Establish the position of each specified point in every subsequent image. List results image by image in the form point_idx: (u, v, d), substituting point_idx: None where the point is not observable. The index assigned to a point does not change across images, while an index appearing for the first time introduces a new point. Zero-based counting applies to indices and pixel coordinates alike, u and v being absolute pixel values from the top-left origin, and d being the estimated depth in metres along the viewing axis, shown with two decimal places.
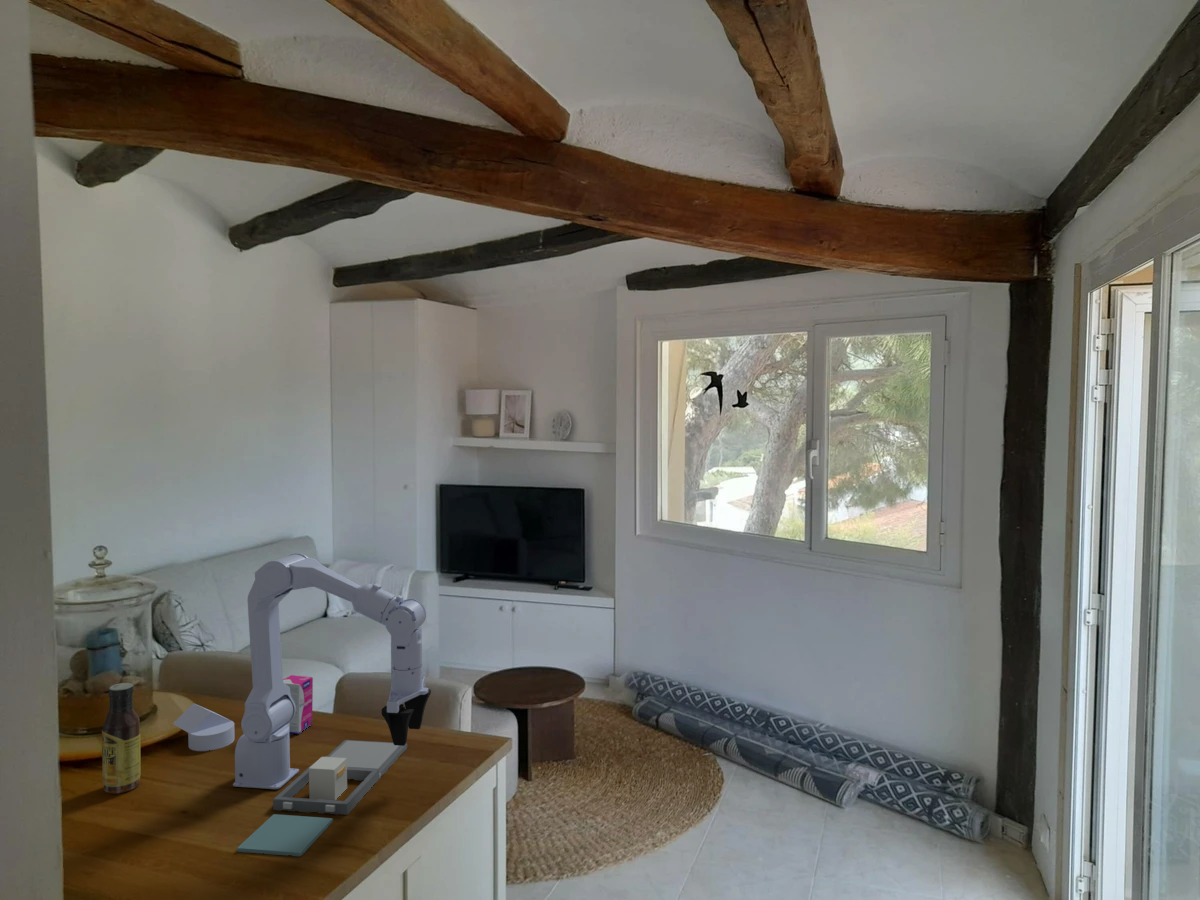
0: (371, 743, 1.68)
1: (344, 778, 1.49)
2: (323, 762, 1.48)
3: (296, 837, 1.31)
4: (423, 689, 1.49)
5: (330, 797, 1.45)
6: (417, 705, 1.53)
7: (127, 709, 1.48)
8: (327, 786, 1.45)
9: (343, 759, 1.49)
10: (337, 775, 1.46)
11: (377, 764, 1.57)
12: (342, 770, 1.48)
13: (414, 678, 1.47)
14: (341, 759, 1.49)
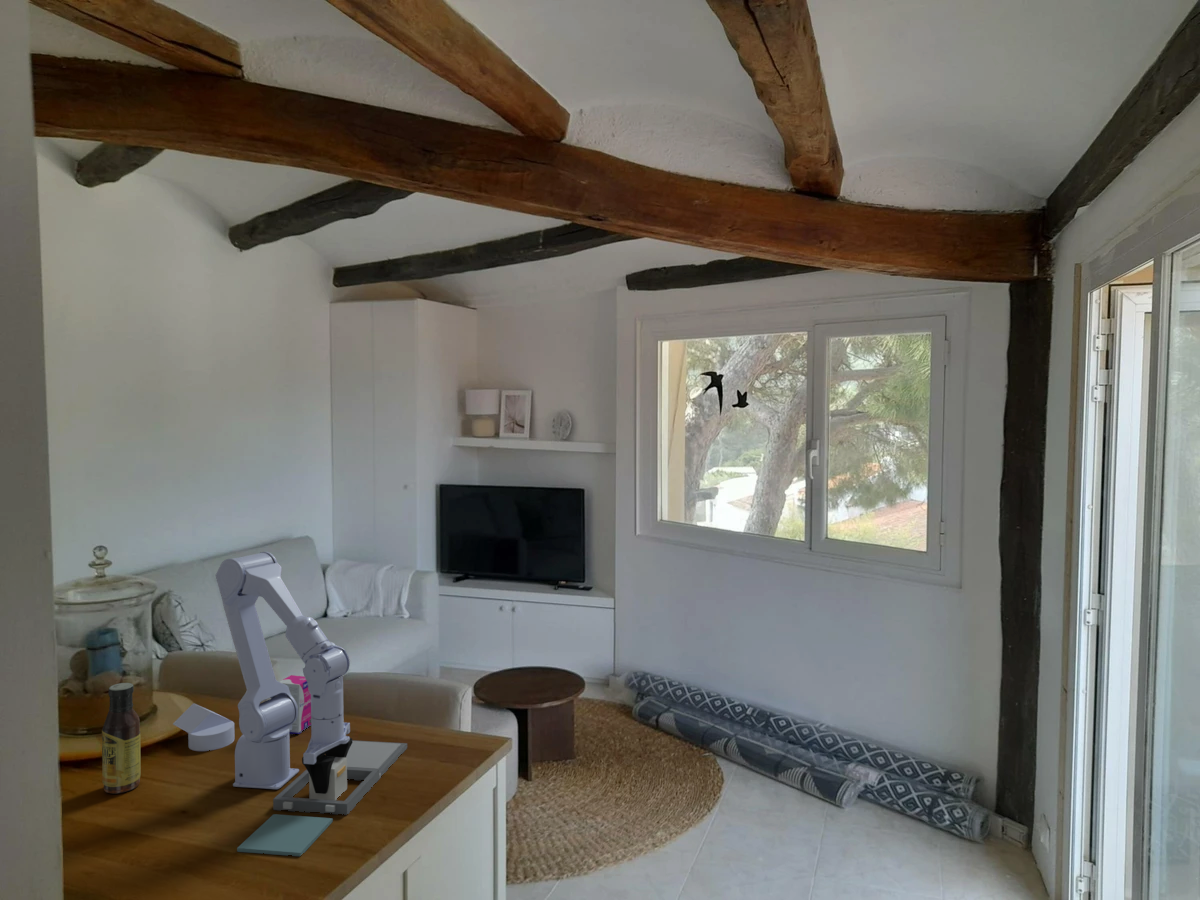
0: (371, 743, 1.68)
1: (344, 777, 1.49)
2: None
3: (296, 837, 1.31)
4: (344, 738, 1.47)
5: (330, 796, 1.45)
6: (338, 755, 1.50)
7: (127, 709, 1.48)
8: None
9: (343, 759, 1.49)
10: (337, 775, 1.46)
11: (377, 764, 1.57)
12: (342, 770, 1.48)
13: (334, 727, 1.45)
14: (341, 759, 1.49)
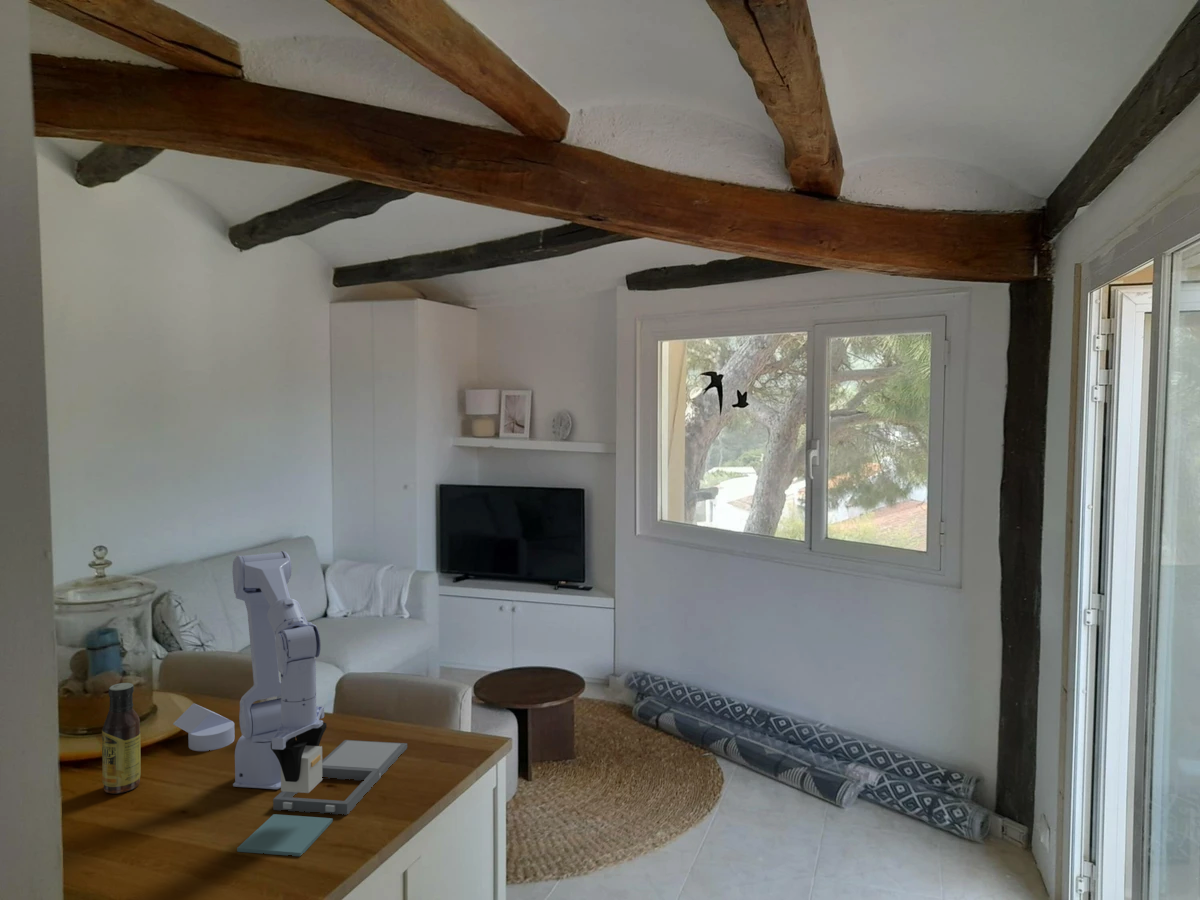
0: (371, 743, 1.68)
1: (319, 767, 1.38)
2: None
3: (296, 837, 1.31)
4: (317, 722, 1.36)
5: (303, 788, 1.35)
6: (310, 741, 1.40)
7: (127, 709, 1.48)
8: (300, 776, 1.35)
9: (318, 747, 1.39)
10: (311, 764, 1.35)
11: (377, 764, 1.57)
12: (317, 759, 1.37)
13: (305, 710, 1.35)
14: (316, 747, 1.39)
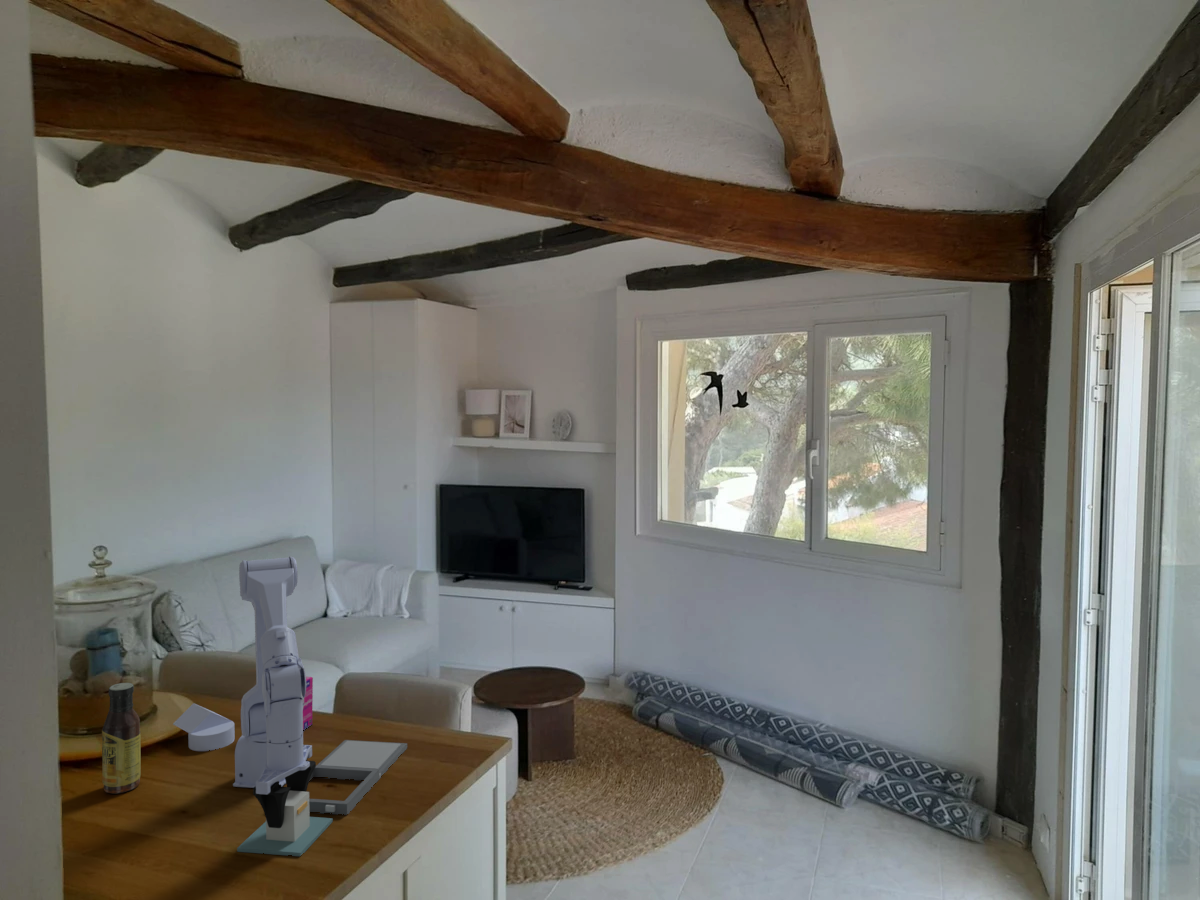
0: (371, 743, 1.68)
1: (306, 814, 1.34)
2: None
3: None
4: (303, 763, 1.32)
5: (289, 836, 1.30)
6: (299, 780, 1.36)
7: (127, 709, 1.48)
8: (285, 824, 1.30)
9: (305, 793, 1.34)
10: (297, 812, 1.31)
11: (377, 764, 1.57)
12: (303, 806, 1.33)
13: (291, 752, 1.30)
14: (303, 793, 1.34)
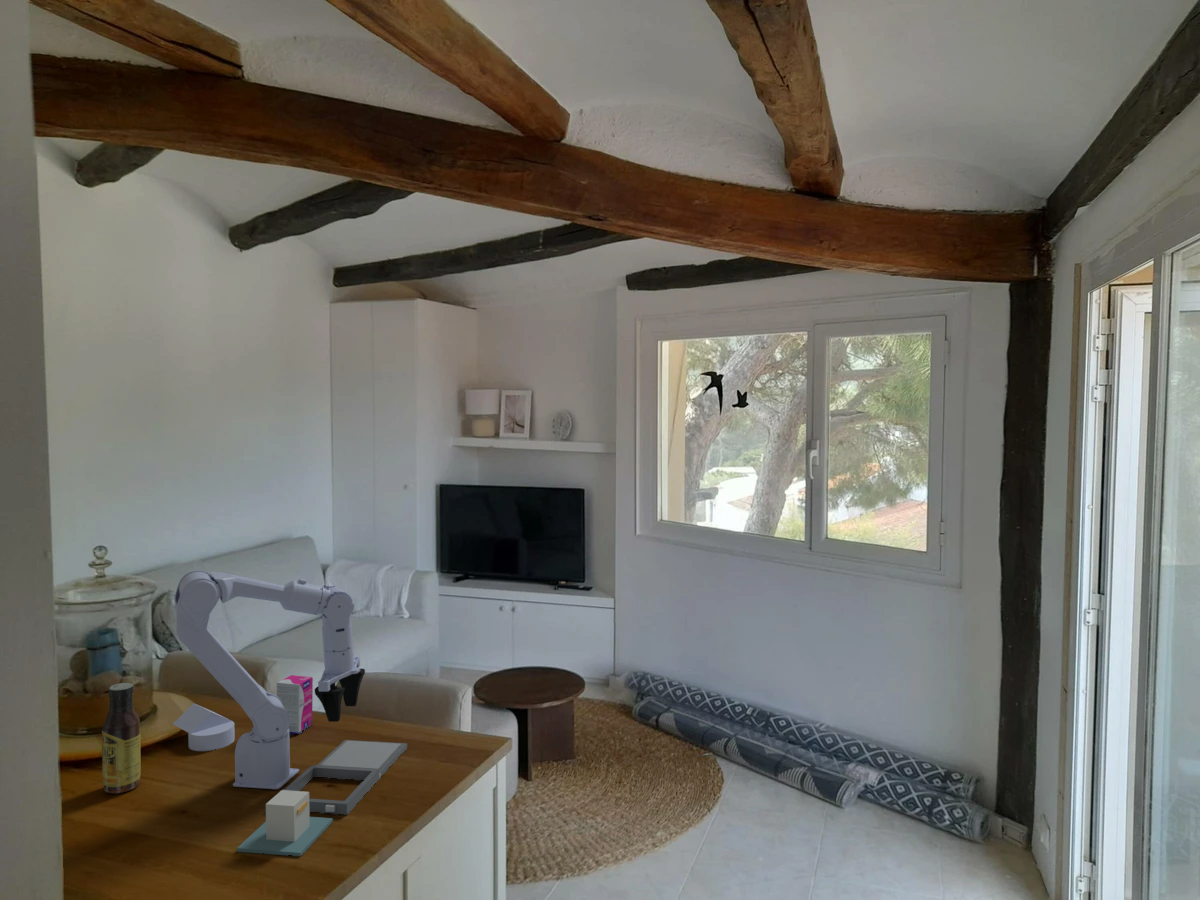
0: (371, 743, 1.68)
1: (306, 814, 1.34)
2: (283, 797, 1.33)
3: None
4: (355, 669, 1.59)
5: (289, 836, 1.30)
6: (352, 684, 1.64)
7: (127, 709, 1.48)
8: (285, 824, 1.30)
9: (305, 793, 1.34)
10: (297, 812, 1.31)
11: (377, 764, 1.57)
12: (303, 806, 1.33)
13: (345, 659, 1.58)
14: (303, 793, 1.34)
